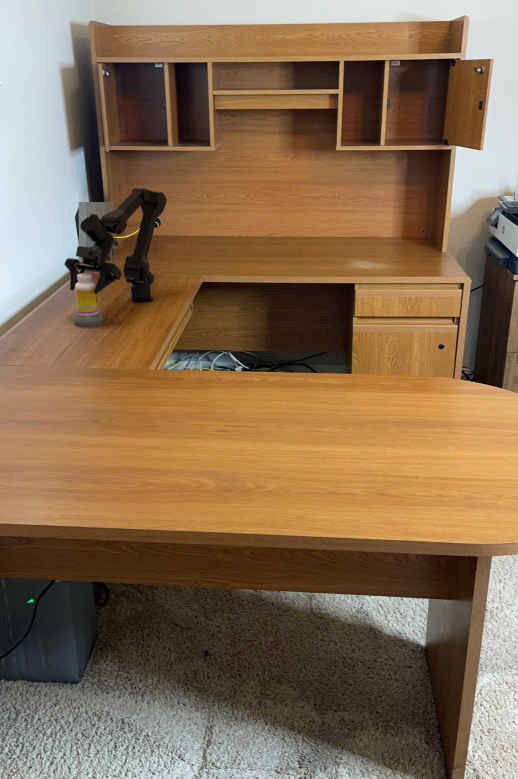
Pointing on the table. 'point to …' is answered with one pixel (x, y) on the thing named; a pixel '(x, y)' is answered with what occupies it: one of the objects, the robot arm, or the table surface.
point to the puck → (88, 320)
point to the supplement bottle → (86, 295)
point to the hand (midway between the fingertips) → (83, 291)
